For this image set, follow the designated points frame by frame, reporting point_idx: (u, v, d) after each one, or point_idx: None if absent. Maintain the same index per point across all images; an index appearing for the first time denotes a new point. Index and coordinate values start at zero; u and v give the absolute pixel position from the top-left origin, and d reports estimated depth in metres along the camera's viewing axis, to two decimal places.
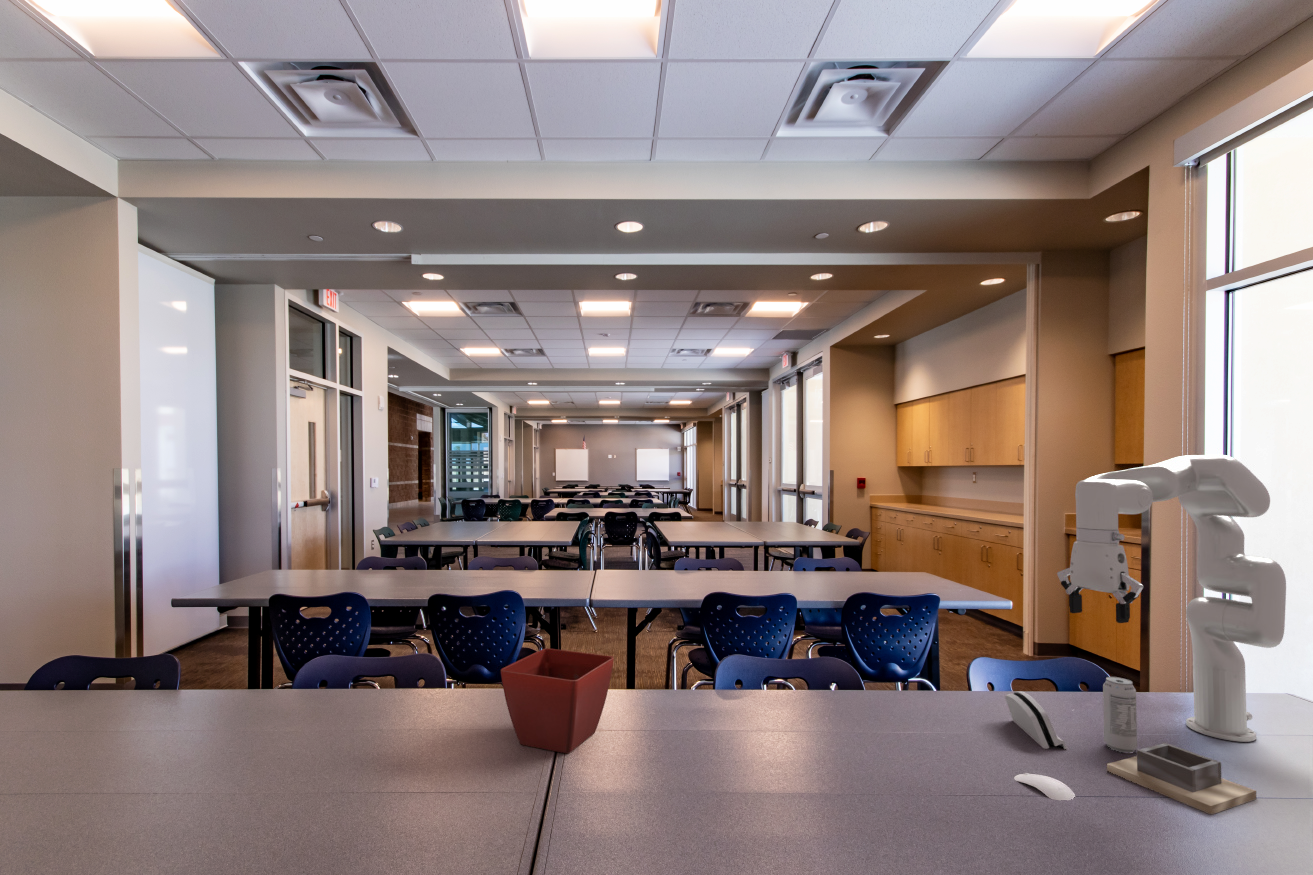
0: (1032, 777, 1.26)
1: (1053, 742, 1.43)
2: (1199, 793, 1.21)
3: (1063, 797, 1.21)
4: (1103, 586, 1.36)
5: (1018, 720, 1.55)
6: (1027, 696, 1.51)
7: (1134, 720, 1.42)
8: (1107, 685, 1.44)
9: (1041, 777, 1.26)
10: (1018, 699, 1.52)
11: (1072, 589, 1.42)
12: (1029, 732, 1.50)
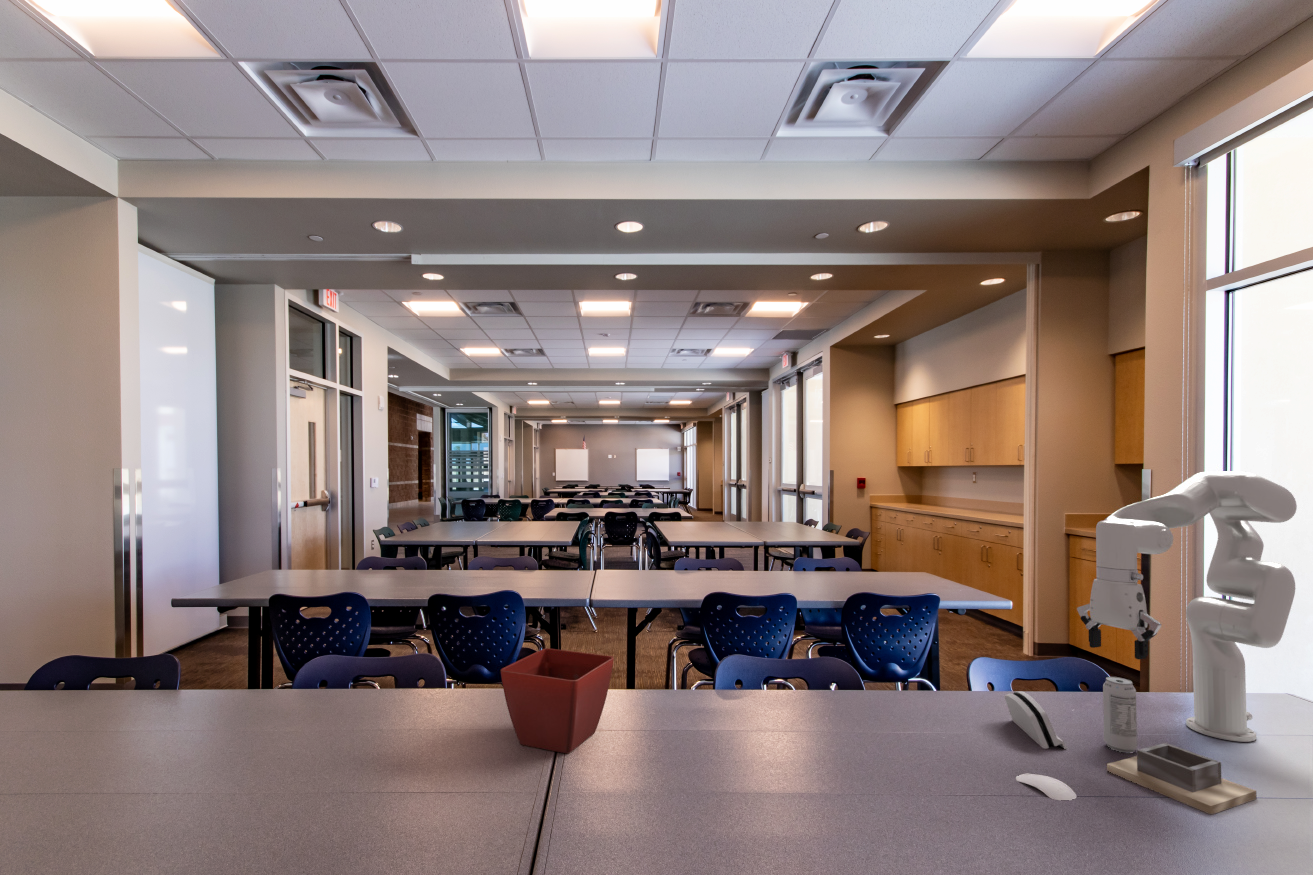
0: (1033, 778, 1.26)
1: (1053, 742, 1.43)
2: (1199, 793, 1.21)
3: (1064, 797, 1.21)
4: (1122, 623, 1.42)
5: (1018, 720, 1.55)
6: (1027, 696, 1.51)
7: (1134, 720, 1.42)
8: (1107, 685, 1.44)
9: (1042, 777, 1.26)
10: (1018, 699, 1.52)
11: (1092, 624, 1.49)
12: (1029, 732, 1.50)
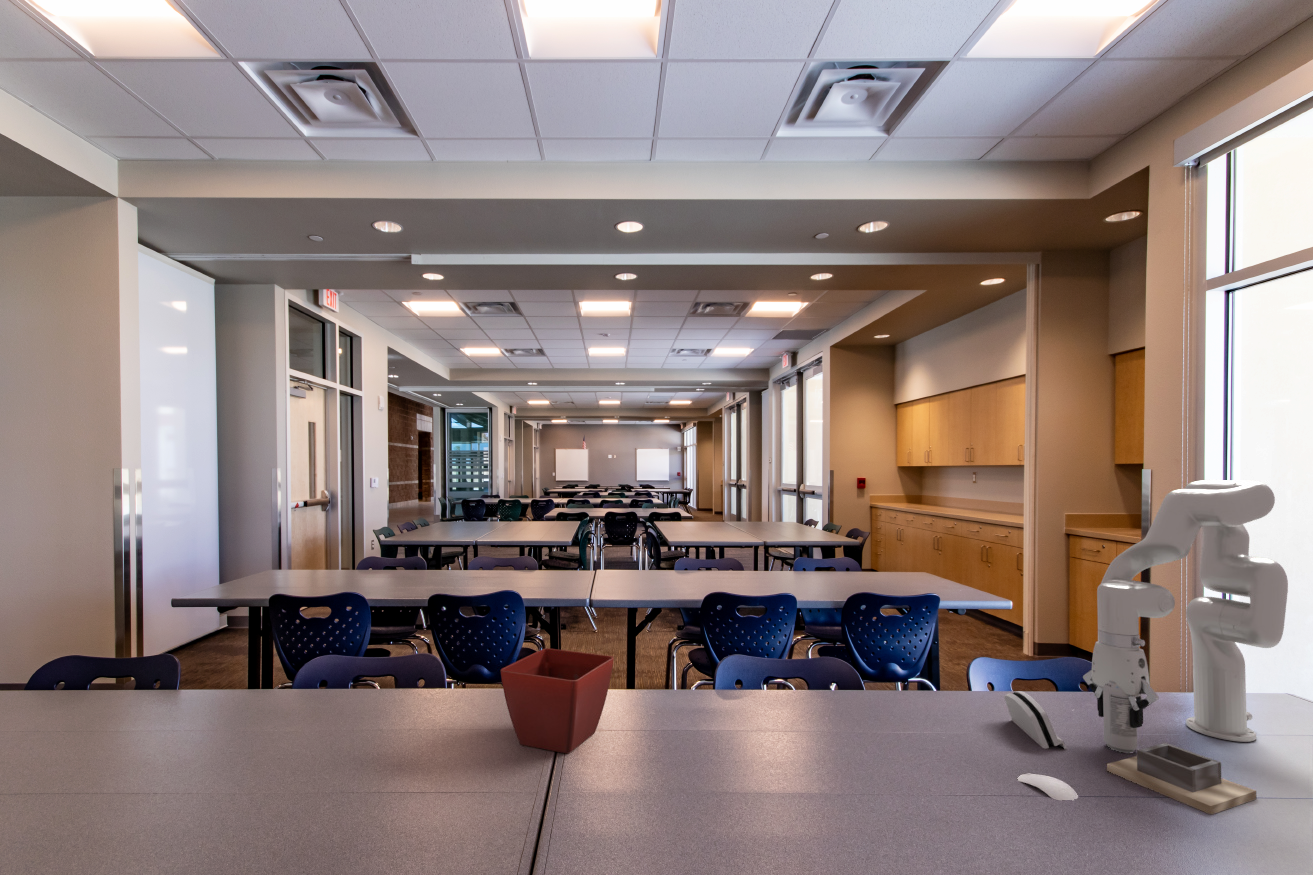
0: (1035, 778, 1.26)
1: (1053, 742, 1.43)
2: (1199, 793, 1.21)
3: (1066, 797, 1.21)
4: (1124, 689, 1.42)
5: (1017, 720, 1.55)
6: (1026, 696, 1.52)
7: None
8: (1107, 685, 1.44)
9: (1044, 777, 1.26)
10: (1017, 699, 1.52)
11: (1100, 693, 1.47)
12: (1029, 732, 1.50)
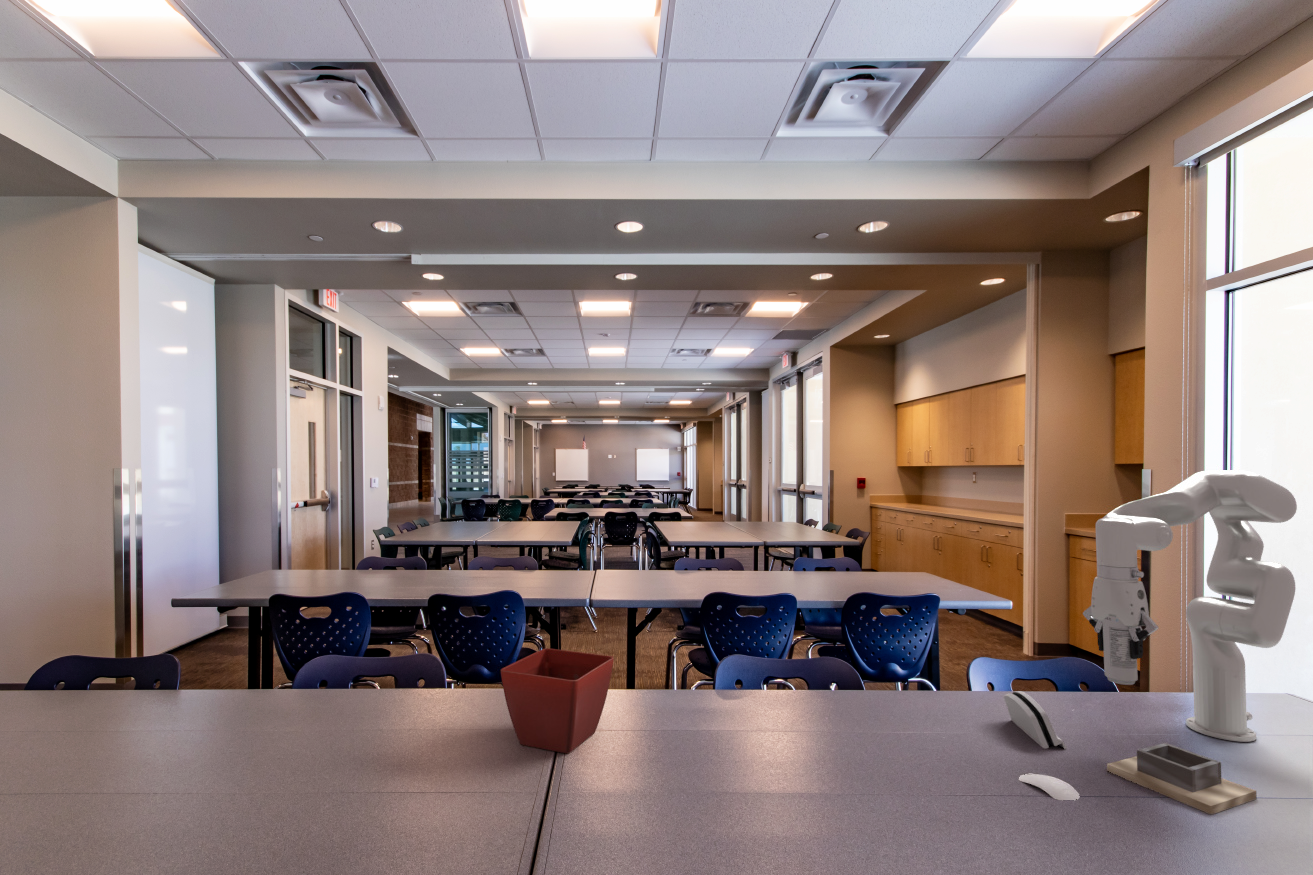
0: (1036, 778, 1.26)
1: (1053, 742, 1.43)
2: (1199, 793, 1.21)
3: (1068, 797, 1.21)
4: (1124, 621, 1.42)
5: (1017, 720, 1.55)
6: (1026, 696, 1.52)
7: None
8: (1107, 619, 1.45)
9: (1045, 777, 1.26)
10: (1017, 699, 1.52)
11: (1100, 628, 1.48)
12: (1028, 732, 1.50)
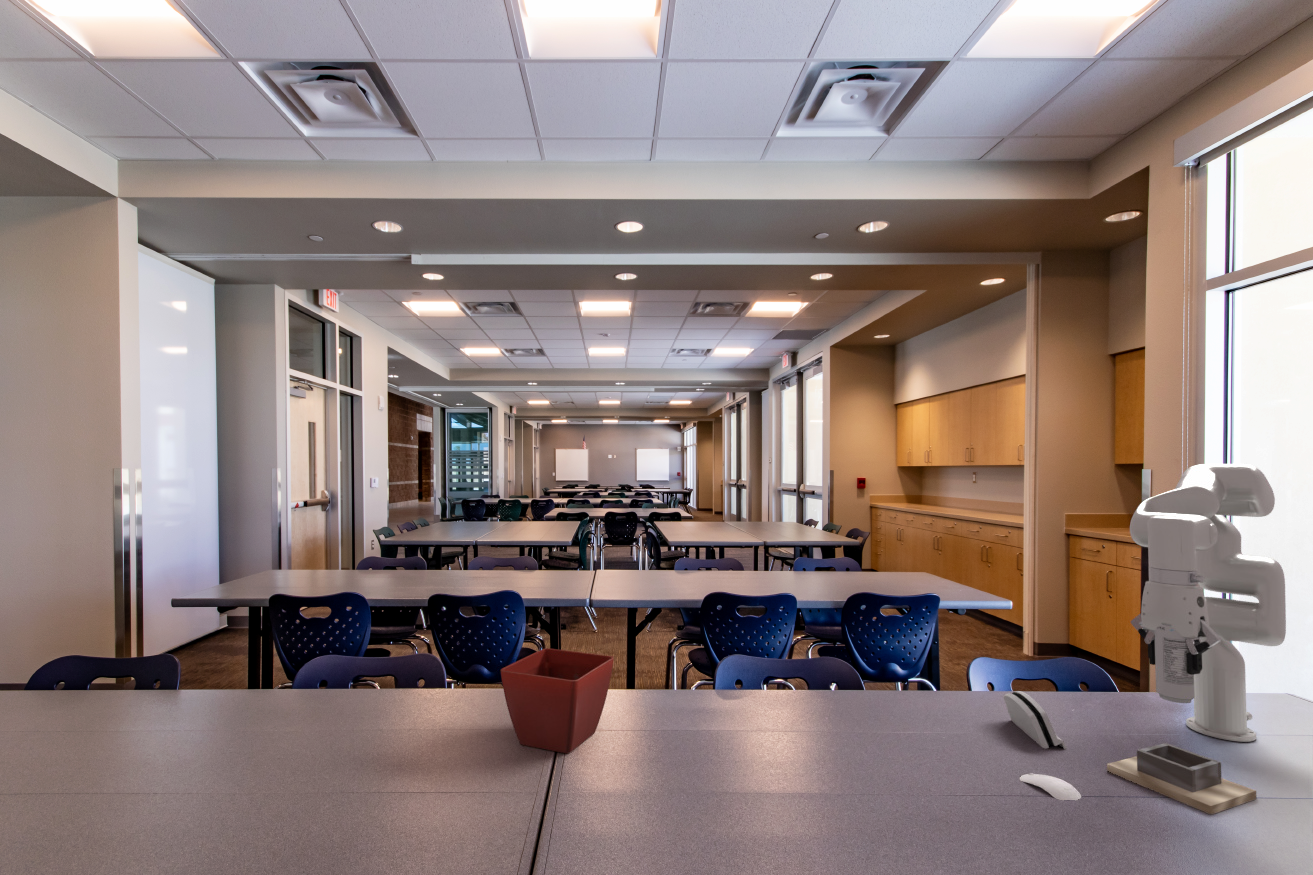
0: (1037, 778, 1.26)
1: (1053, 742, 1.43)
2: (1199, 793, 1.21)
3: (1069, 797, 1.21)
4: (1180, 631, 1.26)
5: (1017, 720, 1.55)
6: (1026, 696, 1.52)
7: None
8: (1160, 628, 1.29)
9: (1047, 777, 1.26)
10: (1017, 699, 1.52)
11: (1152, 638, 1.31)
12: (1028, 732, 1.50)
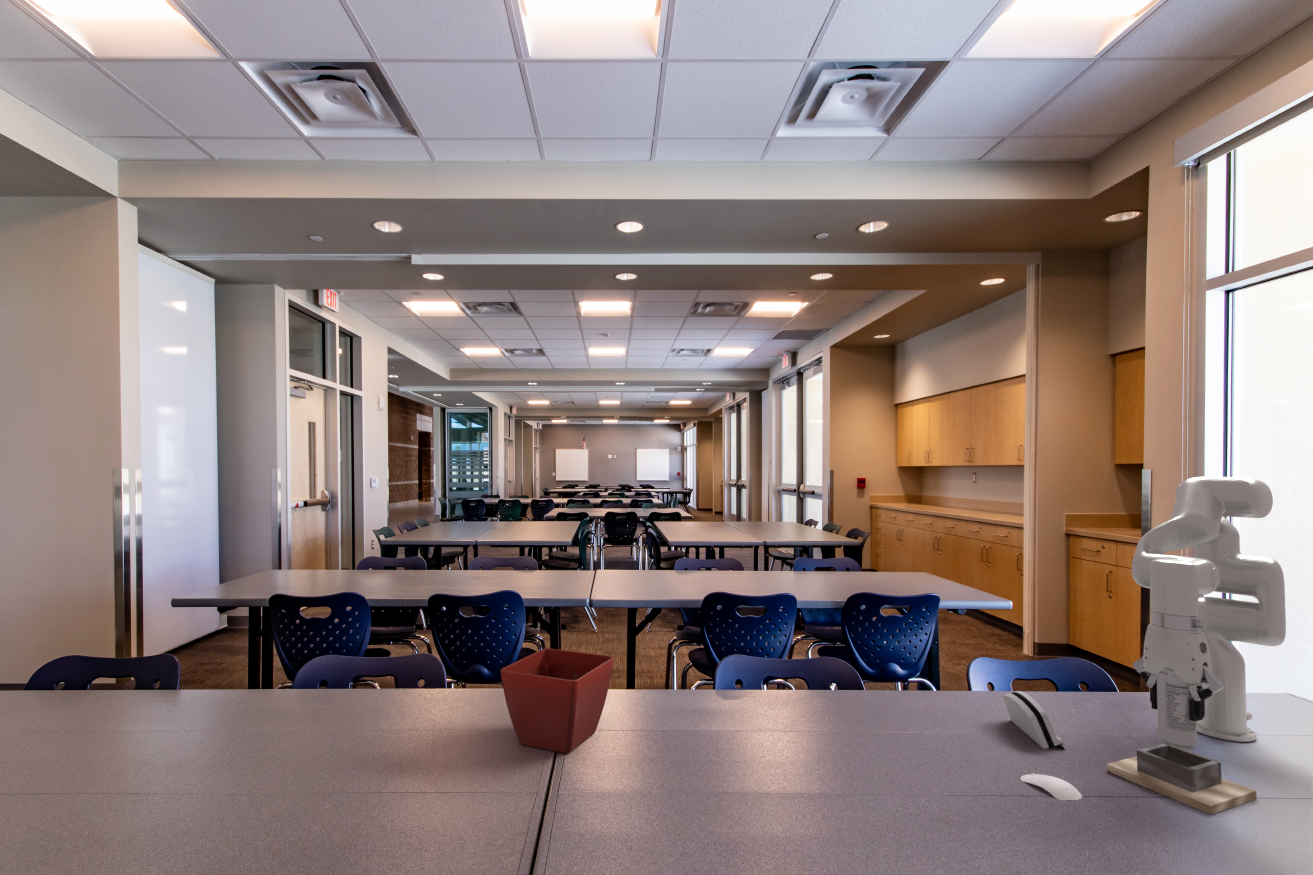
0: (1038, 778, 1.26)
1: (1053, 742, 1.43)
2: (1199, 793, 1.21)
3: (1070, 797, 1.21)
4: (1183, 677, 1.25)
5: (1017, 720, 1.55)
6: (1026, 696, 1.52)
7: None
8: (1162, 673, 1.28)
9: (1047, 778, 1.26)
10: (1017, 699, 1.52)
11: (1154, 683, 1.31)
12: (1028, 732, 1.50)
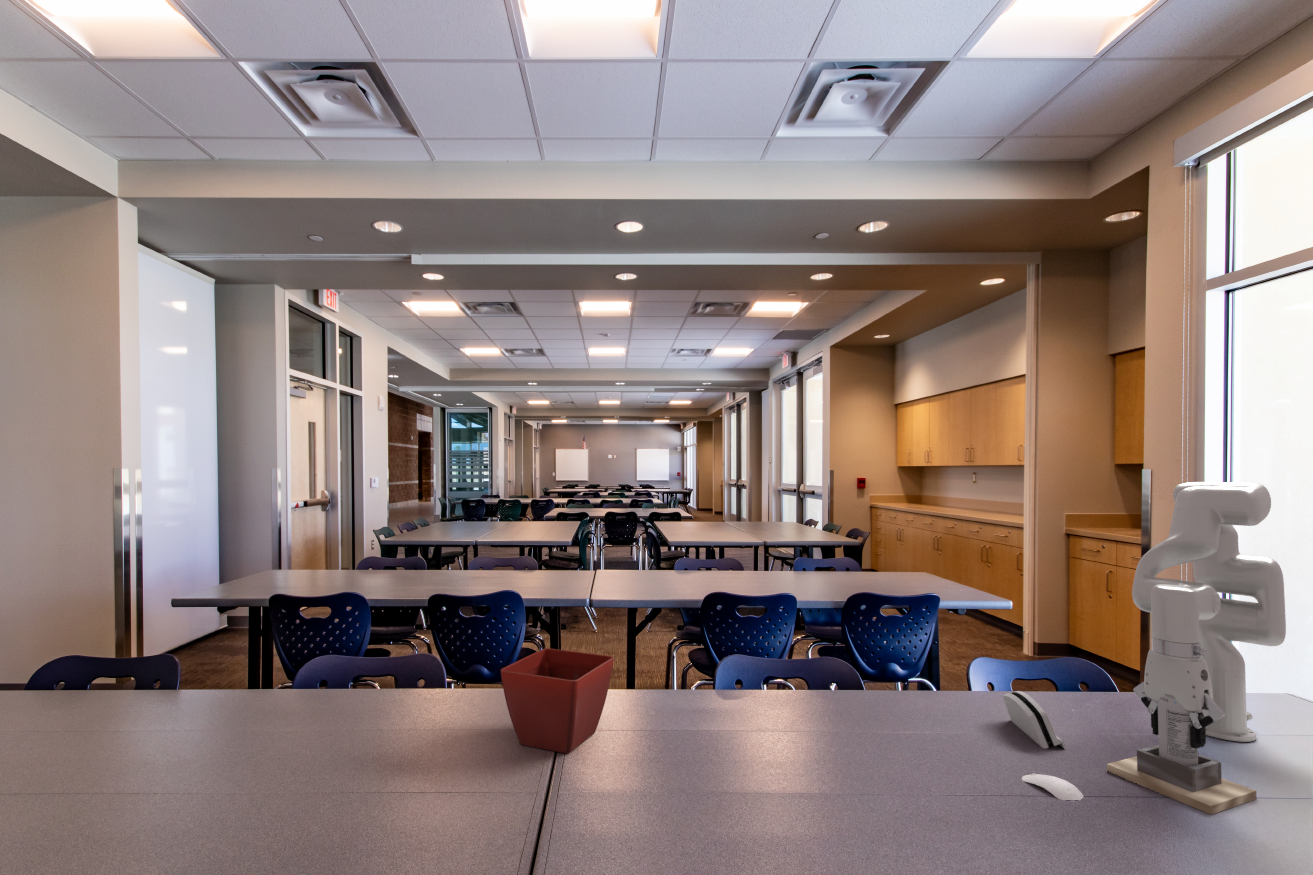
0: (1039, 778, 1.26)
1: (1052, 742, 1.43)
2: (1199, 793, 1.21)
3: (1071, 797, 1.21)
4: (1184, 704, 1.25)
5: (1016, 720, 1.55)
6: (1026, 696, 1.52)
7: None
8: (1163, 700, 1.28)
9: (1048, 777, 1.26)
10: (1017, 699, 1.52)
11: (1155, 708, 1.30)
12: (1028, 732, 1.50)
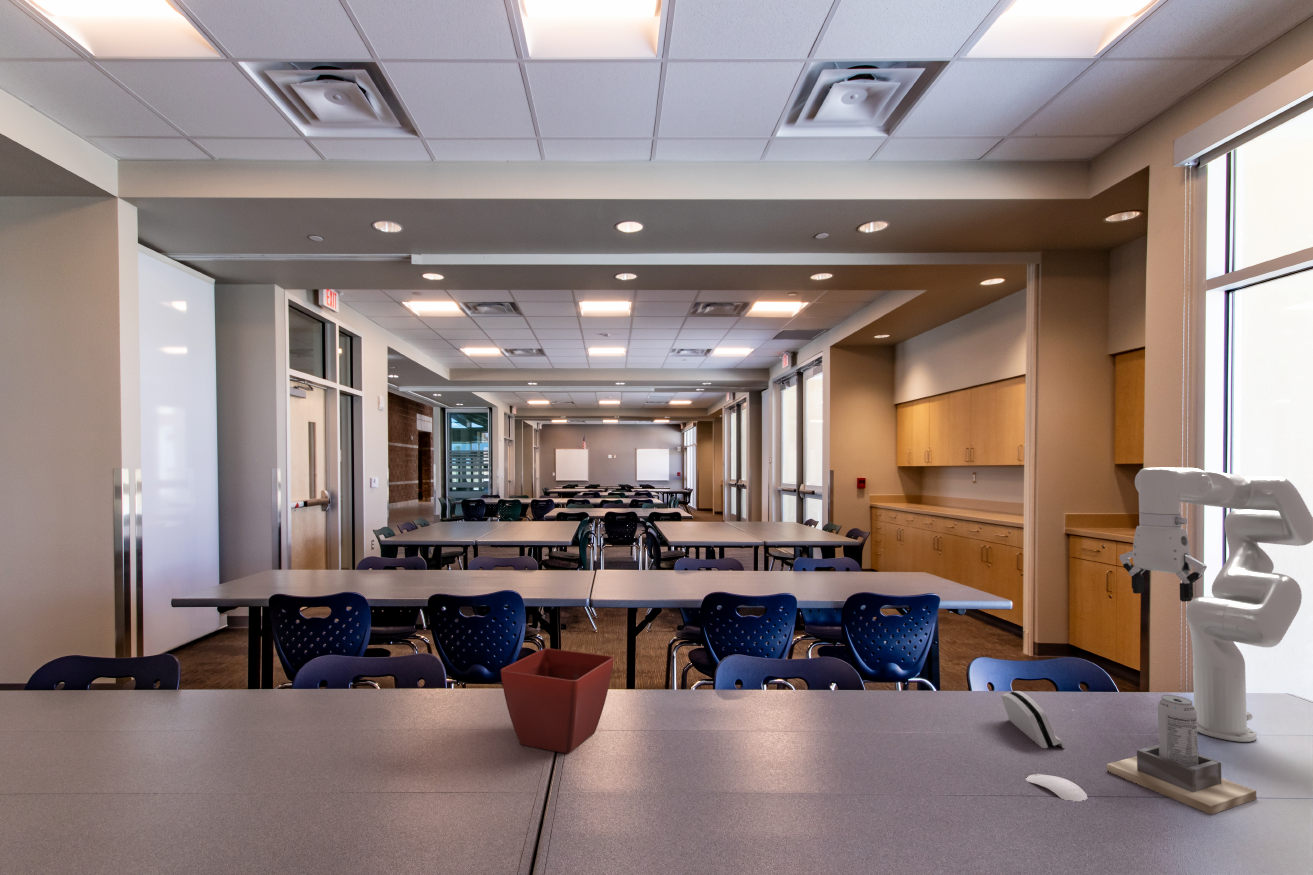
0: (1043, 778, 1.26)
1: (1052, 742, 1.43)
2: (1199, 793, 1.21)
3: (1075, 798, 1.21)
4: (1166, 567, 1.45)
5: (1015, 720, 1.55)
6: (1025, 696, 1.52)
7: (1195, 745, 1.25)
8: (1163, 705, 1.28)
9: (1052, 778, 1.26)
10: (1016, 699, 1.52)
11: (1135, 571, 1.51)
12: (1027, 732, 1.50)
